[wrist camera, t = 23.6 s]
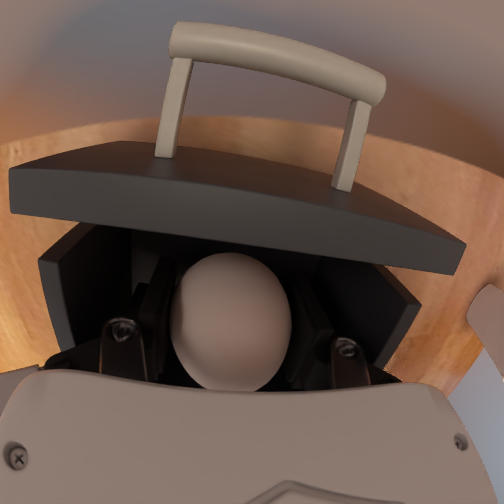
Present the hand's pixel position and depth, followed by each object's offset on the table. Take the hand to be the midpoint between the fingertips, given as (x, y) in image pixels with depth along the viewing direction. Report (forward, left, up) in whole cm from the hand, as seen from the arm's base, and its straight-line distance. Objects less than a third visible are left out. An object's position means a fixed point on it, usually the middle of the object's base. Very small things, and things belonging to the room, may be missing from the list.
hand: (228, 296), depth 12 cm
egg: (0, 0, -2) cm, 2 cm away
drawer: (0, -2, -4) cm, 5 cm away
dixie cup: (-31, +3, -5) cm, 31 cm away
